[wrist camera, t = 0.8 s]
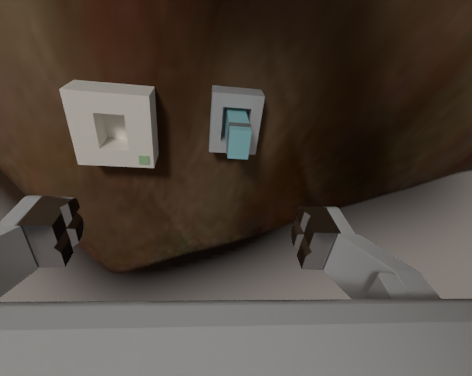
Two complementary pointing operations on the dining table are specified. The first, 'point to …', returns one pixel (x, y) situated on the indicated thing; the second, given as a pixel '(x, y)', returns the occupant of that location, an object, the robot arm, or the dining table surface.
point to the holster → (234, 99)
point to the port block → (112, 123)
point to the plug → (237, 133)
